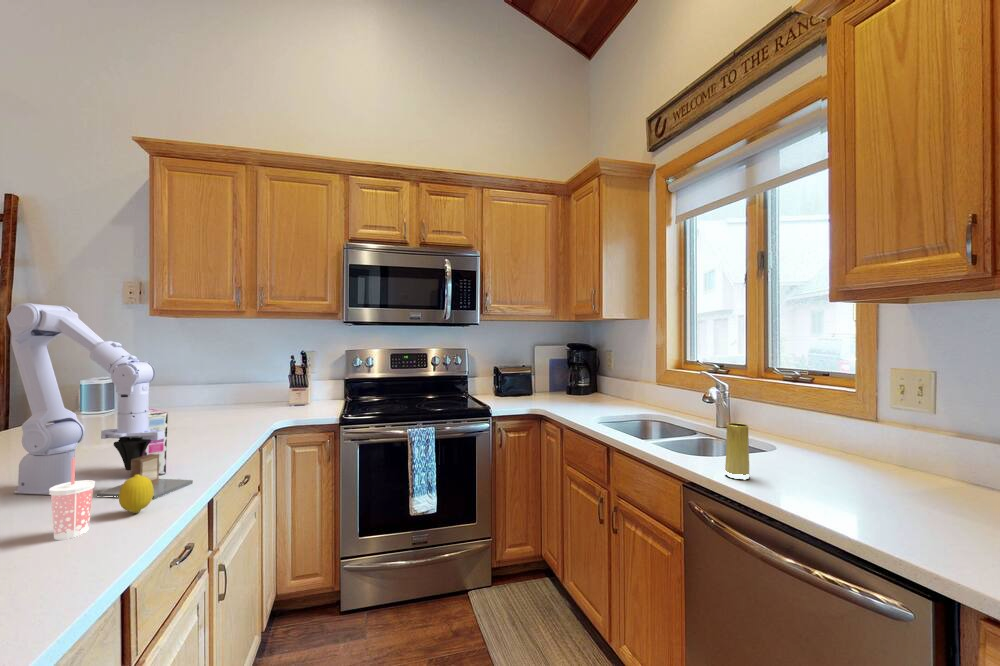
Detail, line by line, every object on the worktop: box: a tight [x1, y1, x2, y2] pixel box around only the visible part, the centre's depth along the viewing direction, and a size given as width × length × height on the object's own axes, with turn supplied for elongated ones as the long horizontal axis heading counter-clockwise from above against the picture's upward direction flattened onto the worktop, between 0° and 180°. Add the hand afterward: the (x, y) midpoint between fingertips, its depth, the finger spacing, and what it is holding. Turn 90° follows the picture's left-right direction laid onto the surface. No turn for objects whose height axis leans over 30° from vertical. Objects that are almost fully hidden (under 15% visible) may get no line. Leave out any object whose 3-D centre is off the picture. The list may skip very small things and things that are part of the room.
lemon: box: [118, 474, 154, 514], centre depth 91 cm, size 6×6×8 cm
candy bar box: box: [143, 408, 169, 476], centre depth 118 cm, size 11×5×16 cm, turn 55°
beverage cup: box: [49, 457, 96, 541], centre depth 81 cm, size 6×6×14 cm
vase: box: [724, 422, 750, 475], centre depth 119 cm, size 6×6×14 cm
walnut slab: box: [130, 454, 160, 485], centre depth 104 cm, size 2×5×7 cm, turn 175°
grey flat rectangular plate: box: [96, 478, 194, 500], centre depth 104 cm, size 14×11×1 cm
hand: (132, 469), depth 105 cm, fingers closed
